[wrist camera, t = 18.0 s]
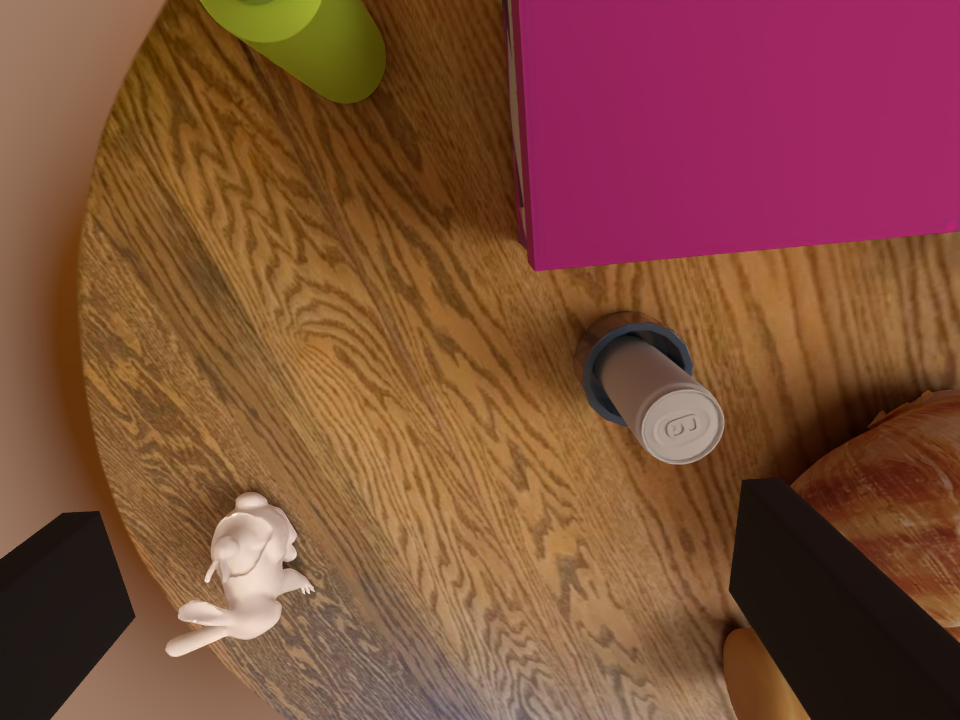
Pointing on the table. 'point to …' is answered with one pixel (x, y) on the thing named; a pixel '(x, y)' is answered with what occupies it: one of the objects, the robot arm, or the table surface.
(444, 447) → the table surface
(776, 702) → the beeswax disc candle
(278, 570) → the rabbit figurine
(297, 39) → the soap dispenser
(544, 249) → the decorative box
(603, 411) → the holder
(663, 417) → the beverage can
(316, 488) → the table surface
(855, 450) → the seashell
